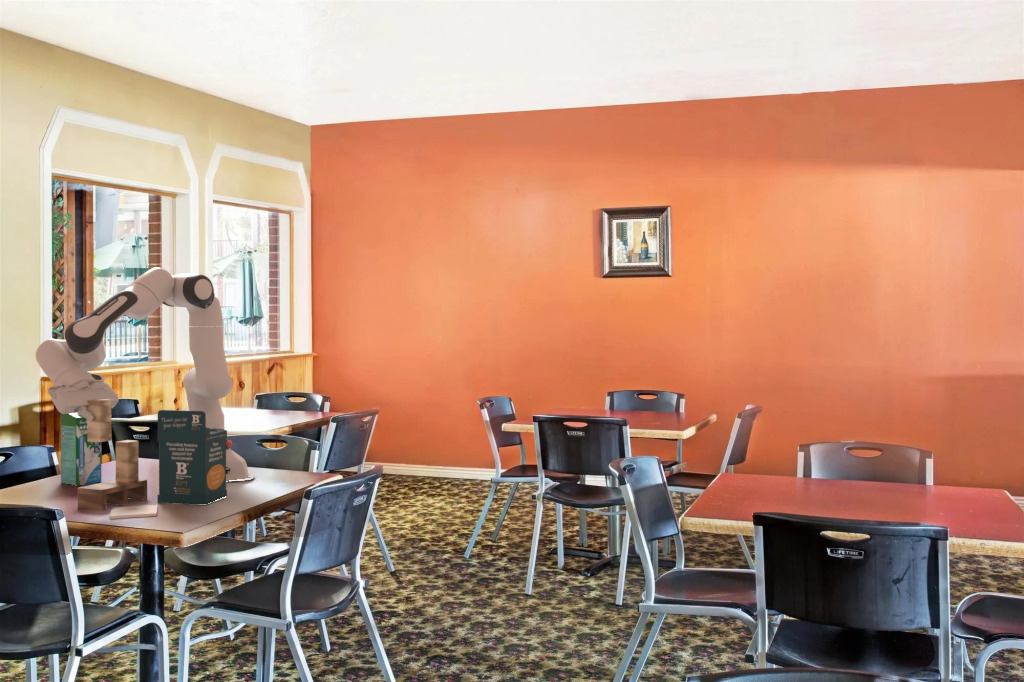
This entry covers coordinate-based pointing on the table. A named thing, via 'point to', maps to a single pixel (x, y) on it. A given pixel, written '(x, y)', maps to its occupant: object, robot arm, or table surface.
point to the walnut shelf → (110, 493)
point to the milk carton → (78, 452)
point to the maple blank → (99, 420)
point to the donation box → (190, 458)
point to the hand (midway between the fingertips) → (101, 419)
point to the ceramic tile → (133, 511)
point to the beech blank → (127, 461)
